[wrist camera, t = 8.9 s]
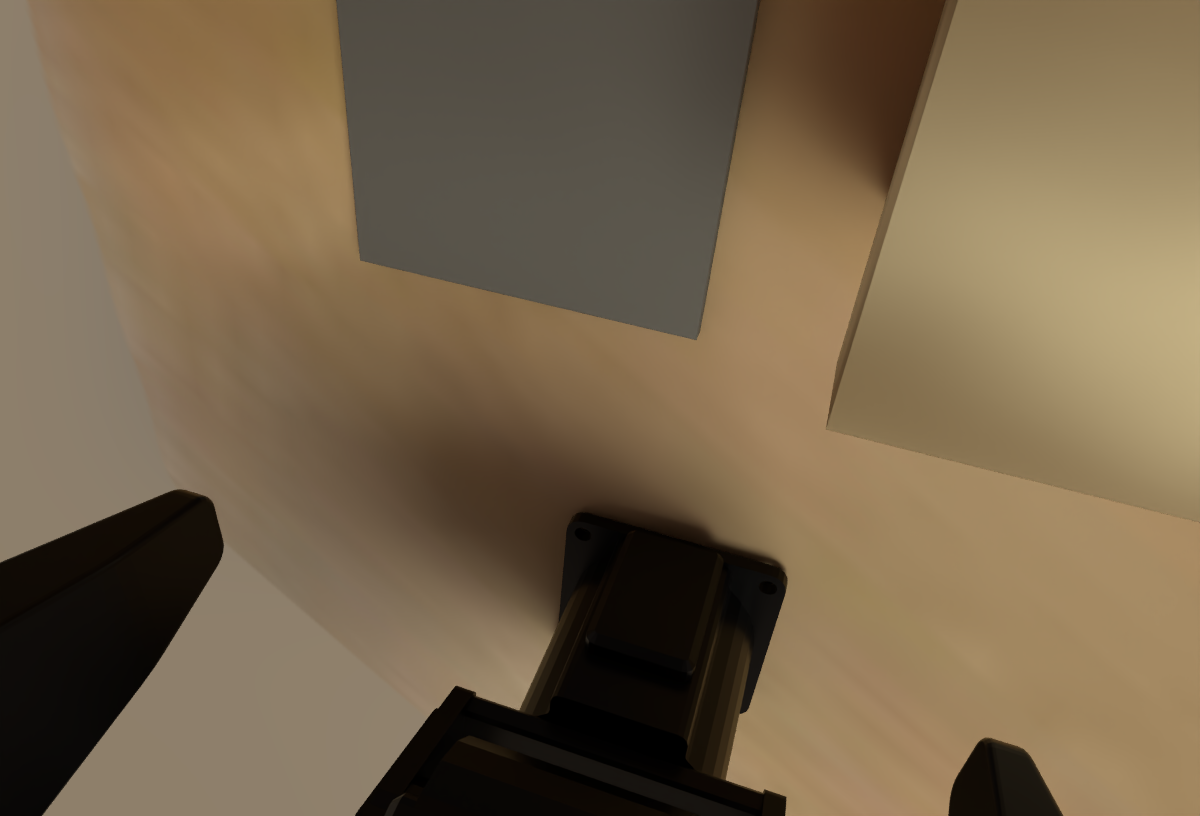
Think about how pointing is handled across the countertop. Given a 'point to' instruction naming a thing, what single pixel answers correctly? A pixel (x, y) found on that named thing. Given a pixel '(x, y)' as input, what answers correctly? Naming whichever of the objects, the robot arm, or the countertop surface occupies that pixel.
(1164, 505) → the beige block on tray
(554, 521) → the countertop surface
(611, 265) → the mat
